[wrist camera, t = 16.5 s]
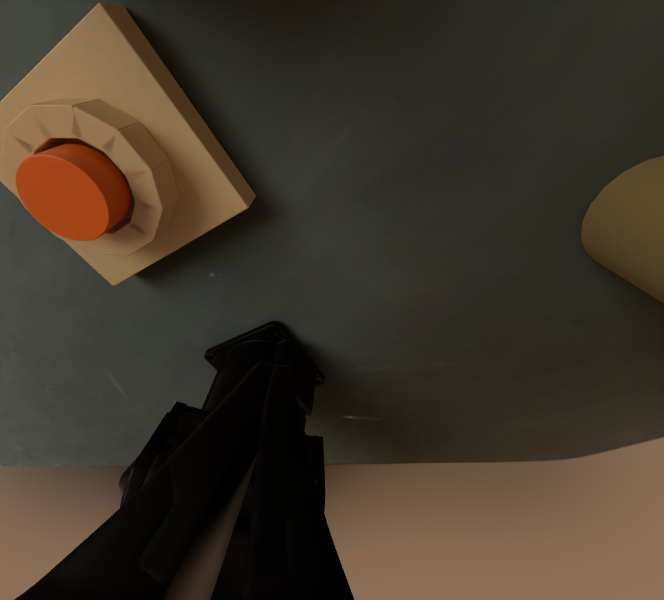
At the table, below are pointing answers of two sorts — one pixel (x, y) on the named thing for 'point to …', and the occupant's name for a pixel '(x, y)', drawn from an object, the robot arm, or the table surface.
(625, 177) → the cork
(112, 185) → the button
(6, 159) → the control block
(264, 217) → the table surface
